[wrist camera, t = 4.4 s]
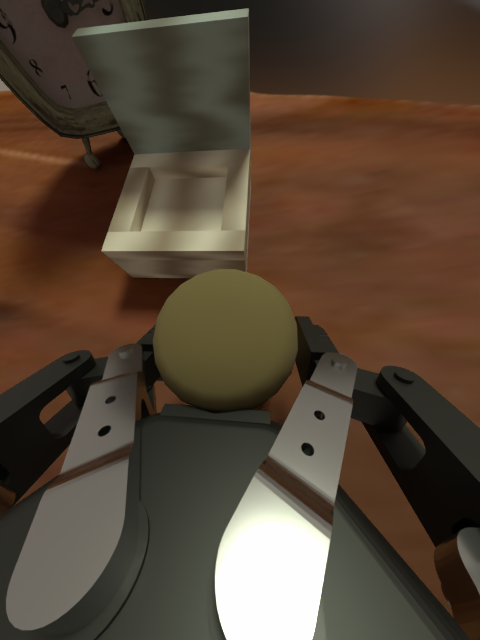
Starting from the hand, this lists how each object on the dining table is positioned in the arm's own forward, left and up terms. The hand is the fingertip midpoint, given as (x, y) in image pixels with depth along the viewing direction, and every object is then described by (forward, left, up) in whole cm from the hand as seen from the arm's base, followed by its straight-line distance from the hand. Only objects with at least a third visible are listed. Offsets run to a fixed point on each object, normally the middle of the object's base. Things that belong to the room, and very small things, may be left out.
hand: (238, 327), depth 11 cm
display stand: (+6, -12, -5) cm, 15 cm away
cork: (0, +2, -5) cm, 5 cm away
